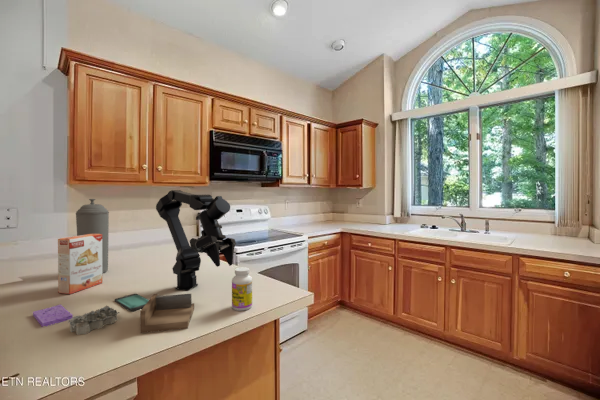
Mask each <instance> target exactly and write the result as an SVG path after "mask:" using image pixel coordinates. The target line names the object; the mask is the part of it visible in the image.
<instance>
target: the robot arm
mask: <svg viewBox="0 0 600 400" xmlns="http://www.w3.org/2000/svg"><path fill="white" fill-rule="evenodd" d="M183 204H186V205H189V208H191V209H192V210H194V211H201V212H198V213H197V215H196V217H195V220H196V221H199V222H200V224H201V227H202V230H201V232H200V235H201V236H200V237H197V238H194V237H192V238H191V239H189V240H188V237H187V235H186V233H185V230H184V227H183V225H182V223H181V219H180V216H179V215H180V212H181V209H180V208H181V207H182V206H183ZM155 205H156V206H155V211H156V212H157V213H158V215H159V217H160V218H161V219H163V220H164V221H165V222H166V224H167V227H168V229H169V232H170V234H171V238H172V240H173V244H174V245H175V249H176V251H177V252H176V256H175V261H176V262H175V264H174V265H173V267H172V268H171V269H172V273H173V275H176V287H174V290H181V291H190V290H192V289H193V288H195V287H197V286H198V285H199V284H198V283H197V275H196V272H198V271H200V266H201V262H202V260H201V257H200V256H201V254H203V253H204V254H207V256H208V257H209V258H210V259H211V261H212V262H213V264H214V265H215V267H217V268H218V267H220V266H221V259H220V253H221V254H222V255H223V256H224V258H225V260H226V262H227V264H228V266H229V267H230V266H233V261H234V252H235V247H236V245H237V242H236V239H235V238H232V237H227V236H226V235H224V234H223V232H222V229H223V225H221V224H220V223H219V221H218V220H221V218H223V217H224V216H225V215H226V214H227V213H228V212H230V211H231V205H230V203H229V202H228V201H227V200H226V199H224V198H223V197H222V195H217V196H215V197H214V198H213V196H212V194H194V193H191V192H187V191H183V190H181V189H177V190H176V189H175V190H173V189H172V190H169V191H168V193H167V194H165V195H163V196H162V197H160V199H159V200H158V201H157V203H156V204H155Z"/></svg>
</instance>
